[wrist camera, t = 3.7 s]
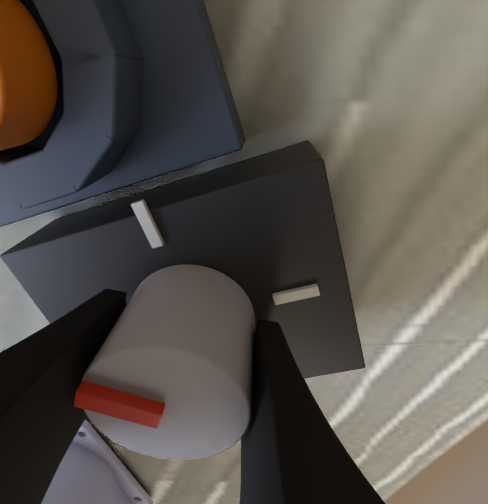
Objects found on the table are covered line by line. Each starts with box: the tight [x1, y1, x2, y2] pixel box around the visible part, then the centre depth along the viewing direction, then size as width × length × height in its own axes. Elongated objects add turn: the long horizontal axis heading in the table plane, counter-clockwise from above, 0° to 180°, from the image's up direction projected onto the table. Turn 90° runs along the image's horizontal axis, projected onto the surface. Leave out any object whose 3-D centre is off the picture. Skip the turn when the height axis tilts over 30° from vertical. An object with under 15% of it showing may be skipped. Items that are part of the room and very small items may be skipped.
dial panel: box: [0, 141, 365, 378], centre depth 12 cm, size 10×8×3 cm
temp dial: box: [74, 264, 255, 460], centre depth 9 cm, size 4×4×4 cm
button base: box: [0, 0, 245, 227], centre depth 8 cm, size 10×8×4 cm
